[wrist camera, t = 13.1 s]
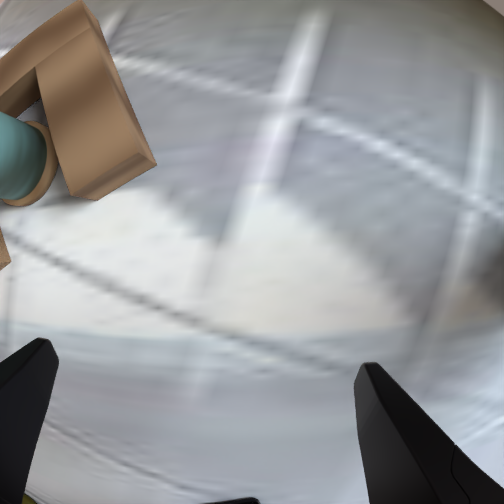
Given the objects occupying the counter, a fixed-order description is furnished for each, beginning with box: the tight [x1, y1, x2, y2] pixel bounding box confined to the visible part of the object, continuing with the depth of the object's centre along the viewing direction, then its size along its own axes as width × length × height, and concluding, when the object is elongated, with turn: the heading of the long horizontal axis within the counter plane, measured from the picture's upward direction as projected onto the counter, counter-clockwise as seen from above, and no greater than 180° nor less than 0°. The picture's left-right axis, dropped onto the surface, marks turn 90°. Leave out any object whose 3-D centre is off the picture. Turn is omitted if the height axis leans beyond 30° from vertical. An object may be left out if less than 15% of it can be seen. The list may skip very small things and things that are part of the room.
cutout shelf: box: [0, 0, 157, 270], centre depth 17 cm, size 15×19×4 cm
